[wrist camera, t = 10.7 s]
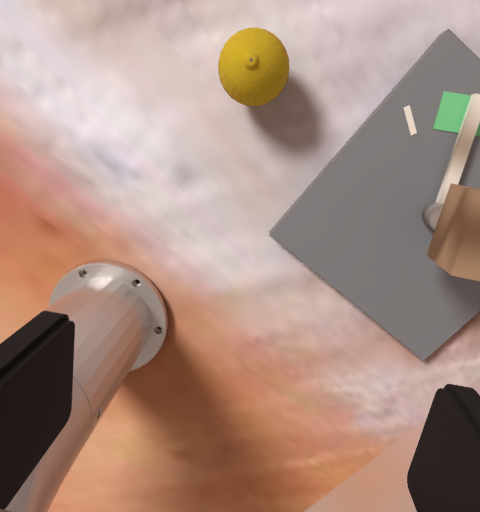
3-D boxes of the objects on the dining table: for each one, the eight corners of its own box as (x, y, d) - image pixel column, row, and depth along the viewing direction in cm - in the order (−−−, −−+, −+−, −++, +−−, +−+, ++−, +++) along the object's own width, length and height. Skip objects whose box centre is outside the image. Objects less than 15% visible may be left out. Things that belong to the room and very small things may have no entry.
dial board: (418, 353, 43) (423, 361, 41) (269, 231, 40) (269, 235, 39) (603, 187, 37) (617, 190, 35) (441, 33, 34) (449, 28, 33)
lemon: (300, 80, 36) (307, 66, 29) (250, 121, 37) (243, 119, 30) (262, 25, 35) (258, -4, 28) (211, 69, 36) (195, 53, 29)
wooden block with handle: (438, 248, 38) (484, 282, 29) (412, 243, 38) (450, 275, 29) (490, 98, 34) (560, 87, 25) (461, 93, 34) (522, 80, 25)
